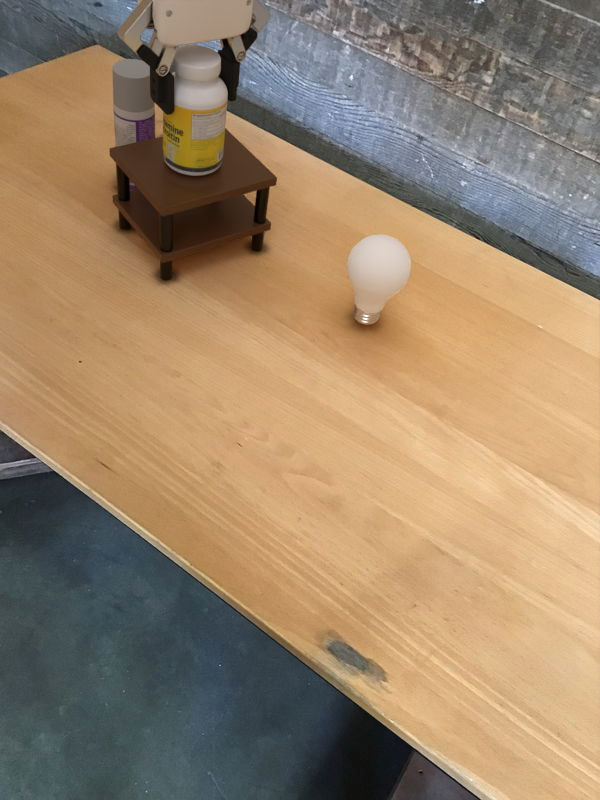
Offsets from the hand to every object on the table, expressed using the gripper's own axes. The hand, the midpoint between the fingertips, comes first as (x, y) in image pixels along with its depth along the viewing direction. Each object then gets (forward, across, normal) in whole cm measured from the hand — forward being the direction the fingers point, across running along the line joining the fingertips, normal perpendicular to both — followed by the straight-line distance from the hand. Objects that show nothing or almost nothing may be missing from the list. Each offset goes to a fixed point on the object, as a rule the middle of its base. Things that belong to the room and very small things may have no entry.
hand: (194, 99), depth 77 cm
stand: (+17, 0, 0) cm, 17 cm away
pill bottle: (+7, 0, 0) cm, 7 cm away
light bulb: (+17, -10, +21) cm, 29 cm away
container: (+17, +1, -12) cm, 21 cm away
